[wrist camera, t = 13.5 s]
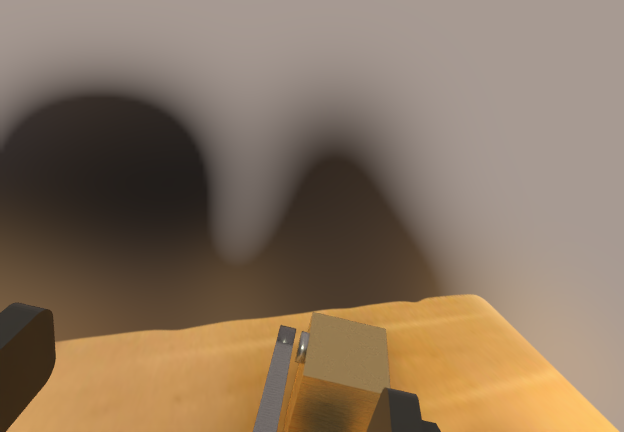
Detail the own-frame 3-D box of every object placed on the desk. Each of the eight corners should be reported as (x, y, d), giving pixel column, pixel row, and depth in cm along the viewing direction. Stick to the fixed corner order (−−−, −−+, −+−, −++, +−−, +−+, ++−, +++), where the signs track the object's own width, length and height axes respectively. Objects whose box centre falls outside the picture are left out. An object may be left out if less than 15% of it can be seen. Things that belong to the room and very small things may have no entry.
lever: (269, 344, 45) (209, 553, 24) (275, 317, 44) (219, 509, 24) (297, 351, 45) (262, 565, 24) (304, 324, 44) (273, 521, 24)
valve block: (254, 541, 40) (284, 428, 33) (288, 369, 59) (312, 275, 52) (348, 563, 40) (397, 455, 33) (352, 384, 59) (384, 292, 52)
